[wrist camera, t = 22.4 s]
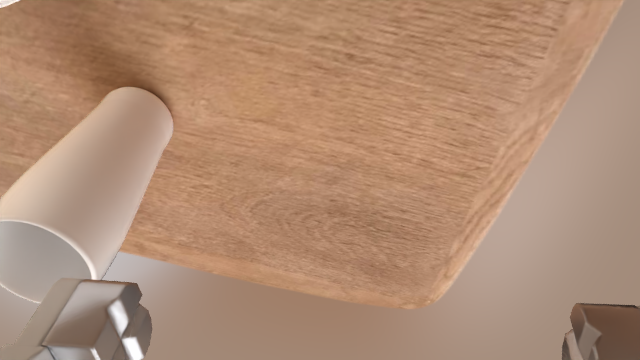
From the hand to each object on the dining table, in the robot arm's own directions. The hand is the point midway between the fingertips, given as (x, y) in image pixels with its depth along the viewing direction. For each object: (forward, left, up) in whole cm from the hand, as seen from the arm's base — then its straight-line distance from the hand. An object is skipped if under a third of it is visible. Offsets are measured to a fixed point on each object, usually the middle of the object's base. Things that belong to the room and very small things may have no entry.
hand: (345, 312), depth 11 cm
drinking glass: (+18, +12, -27) cm, 35 cm away
